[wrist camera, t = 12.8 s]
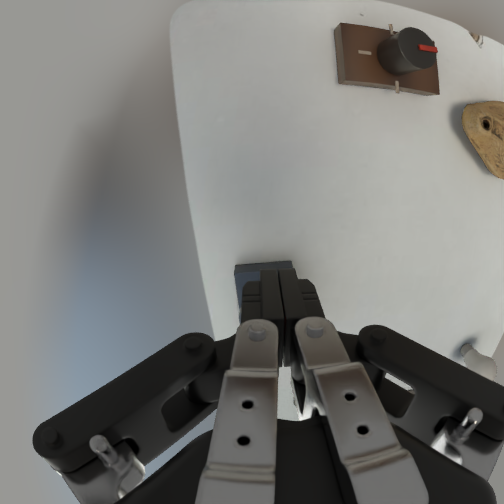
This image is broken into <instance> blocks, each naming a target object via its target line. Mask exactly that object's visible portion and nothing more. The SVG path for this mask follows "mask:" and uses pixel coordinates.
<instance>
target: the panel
mask: <svg viewBox="0 0 504 504" xmlns="http://www.w3.org/2000/svg"><path fill="white" fill-rule="evenodd" d="M389 29H390V30H385V29H380V28H374V27H368V26H362V25H355V24H347V23H340V24H339V25H338V26H337V27H336V29H335V30H334V36H335V46H336V57H337V70H338V83H339V84H346V85H357V86H367V87H376V88H384V89H391V90H396V93H399V91H404V92H410V93H415V94H421V95H426V96H429V95H439V94H440V93H439V79H438V68H437V59H436V61H435V63H434V64H433V66H431V67H430V68H427V69H423V70H419V71H416V72H412V73H408V74H405V75H399V76H398V75H394V74H391V73H389V72H388V71H386V70H385V69H384V68H383V67H382V65H381V64H380V62H379V60H378V57H377V48H378V46H379V44H380V43H381V42H383V41H384V40H386V39H387V38H389V37H391V36H392V35H394V34H396V33H398V32H395V31H393V27H392V24H389ZM432 42H433V44H434V41H432ZM434 46H435V44H434Z"/></svg>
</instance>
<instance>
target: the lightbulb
mask: <svg viewBox="0 0 504 504" xmlns="http://www.w3.org/2000/svg"><path fill="white" fill-rule="evenodd" d="M460 352H461V355H462V356H463V358H464V362H465V363H466V366H467V368H468V369H470V370H472V371H474V372H476V373H478V374H480V375H482V376H484V377H486V378H488V379H490V380H492V381H494V380H495V377H496V374H497V366H496V363H495V362H494V360H493V359H492V358H490V357H487V356H484V355H482V354H480V353H479V352H478V351H477V350H476V349H474V348H473V347H472V346H471V345H470V344H466V345H463V346H462V348H461V351H460Z"/></svg>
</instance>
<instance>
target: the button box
mask: <svg viewBox="0 0 504 504" xmlns="http://www.w3.org/2000/svg"><path fill="white" fill-rule="evenodd" d="M288 268H293V266H292V262H291V261H283V262H270V263H258V264H245V265H235V271H234V276H235V283H236V290H237V297H238V304H239V322H240V325H241V306H242V288H243V286H244V285H245V284H246V283H247V281H260V269H277V271H278V269H288Z"/></svg>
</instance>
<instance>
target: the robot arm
mask: <svg viewBox="0 0 504 504" xmlns="http://www.w3.org/2000/svg"><path fill="white" fill-rule="evenodd" d="M282 360H283V363H284V367H288V366H291V386H292V391H293V395H294V399H295V404H296V408H297V412H298V417H299V421H289V420H282V419H277V404H278V377H279V367H282ZM386 372H387V373H389V374H390V375H392V376H394V377H396V378H397V379H399V380H401V381H403V382H404V383H406V384H408V385H410V386H411V387H412V388H413V390H414V392H415V394H412V393H411V392H409V391H407V390H405V389H404V388H402V387H400V386H398V385H397V384H395V383H393V382H391V381H390V380H388V379H386V378H385V375H386ZM215 409H217V413H216V418H215V423H214V428H213V429H212V430H210V431H208V432H206V433H204V434H202V435H200V436H198V437H197V438H195V439H194V440H192V441H191V442H190V443H189V444H187V445H186V446H185V447H184V448H183V449H182V450H181V451H180V452H179V453H177V454H176V455H175V456H174V457H173V458H171V459H170V460H169V461H168V462H167V463H165V464H164V465H163V466H162V467H161V468H159V469H158V470H157V471H156V472H154V473H153V474H152V475H151V476H150V477H148V478H147V479H146V480H145V481H143V479H144V477H145V468H144V466H145V465H147V464H148V463H149V462H151V461H152V460H153V459H155V458H156V457H157V456H159V455H160V454H161V453H163V452H164V451H165V450H167V449H168V448H169V447H170V446H171V445H173V444H174V443H175V442H177V441H178V440H179V439H180V438H182V437H183V436H184V435H186V434H187V433H188V432H189V431H190V430H191V429H193V428H194V427H195V426H196V425H198V424H199V423H200V422H201V421H203V420H204V419H205V418H206V417H207V416H208V415H210V414H211V413H212V412H213V411H214V410H215ZM503 444H504V387H503V386H502V385H500V384H498V383H496V382H494V381H492V380H490V379H488V378H486V377H484V376H482V375H480V374H478V373H476V372H474V371H472V370H470V369H468V368H466V367H464V366H462V365H460V364H458V363H456V362H454V361H452V360H450V359H448V358H446V357H444V356H442V355H440V354H438V353H436V352H434V351H432V350H430V349H428V348H427V347H425V346H423V345H421V344H419V343H417V342H415V341H413V340H411V339H409V338H407V337H405V336H403V335H401V334H399V333H397V332H395V331H393V330H391V329H389V328H387V327H385V326H381V325H369V326H366V327H364V328H362V329H361V330H360V332H359V335H353V334H346V333H342V332H339V331H336V329H335V327H334V325H333V324H332V323H331V322H330V321H329V320H327V319H326V318H325V315H324V312H323V309H322V306H321V303H320V300H319V298H318V295H317V292H316V289H315V286H314V285H313V284H312V283H311V282H310V281H309V280H308V279H298V278H297V275H296V271H295V268H288V269H278V271H277V269H260V281H247V283H246V284H245V285H244V286H243V288H242V306H241V325H240V326H239V327H238V328H237V332H236V334H234V335H233V336H231V337H229V338H227V339H224V340H220V341H215V342H214V340H213V339H212V338H211V337H210V336H208V335H206V334H204V333H188V334H185V335H183V336H181V337H179V338H178V339H176V340H175V341H173V342H172V343H170V344H168V345H167V346H165V347H164V348H162V349H161V350H159V351H158V352H156V353H155V354H153V355H151V356H150V357H148V358H147V359H145V360H144V361H142V362H141V363H139V364H137V365H136V366H134V367H133V368H131V369H130V370H128V371H126V372H125V373H123V374H122V375H120V376H119V377H117V378H115V379H114V380H112V381H111V382H109V383H107V384H106V385H104V386H103V387H101V388H99V389H98V390H96V391H95V392H93V393H91V394H90V395H88V396H86V397H85V398H83V399H81V400H80V401H78V402H76V403H75V404H73V405H71V406H70V407H68V408H67V409H65V410H63V411H62V412H60V413H58V414H57V415H55V416H53V417H52V418H50V419H48V420H46V421H45V422H43V423H41V424H40V425H39V426H38V427H37V429H36V430H35V432H34V434H33V446H34V449H35V450H36V452H37V453H38V454H39V455H40V456H41V457H42V458H44V460H45V461H47V462H48V463H49V464H50V466H51V467H52V468H53V469H54V470H55V471H56V472H58V473H59V474H60V475H61V476H62V477H63V478H64V480H65V482H66V483H67V485H68V486H69V488H70V489H71V491H72V492H73V494H74V495H75V497H76V498H77V500H78V501H79V502H80V504H497V502H496V496H495V493H494V491H493V488H492V487H491V485H490V484H489V483H488V479H489V477H490V475H491V473H492V471H493V469H494V466H495V464H496V462H497V459H498V457H499V454H500V452H501V449H502V447H503ZM142 481H143V482H142Z"/></svg>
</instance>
